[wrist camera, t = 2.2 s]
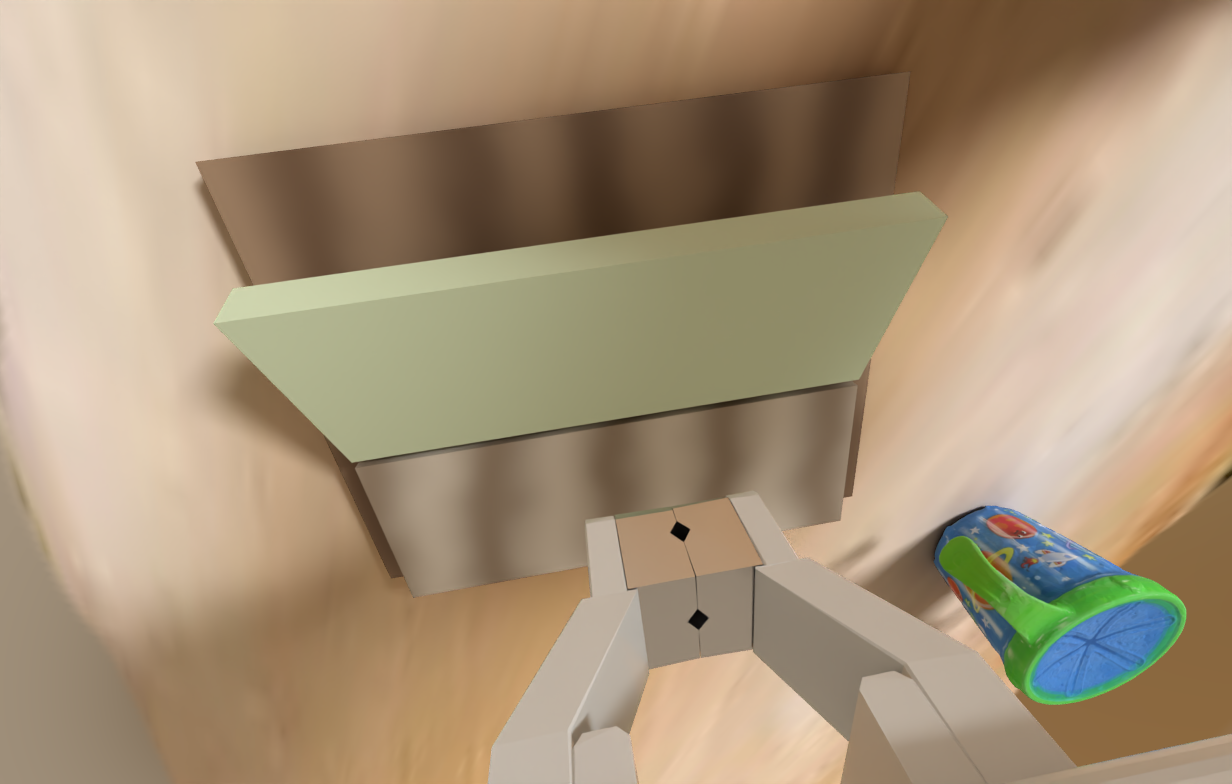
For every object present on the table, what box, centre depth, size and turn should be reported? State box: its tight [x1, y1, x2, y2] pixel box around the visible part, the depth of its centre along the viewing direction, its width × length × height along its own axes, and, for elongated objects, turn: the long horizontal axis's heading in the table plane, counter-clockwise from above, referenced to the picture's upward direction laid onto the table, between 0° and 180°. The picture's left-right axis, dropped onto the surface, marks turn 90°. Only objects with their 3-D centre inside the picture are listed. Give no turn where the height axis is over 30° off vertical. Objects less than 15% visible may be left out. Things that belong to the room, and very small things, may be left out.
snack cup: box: [934, 506, 1186, 705], centre depth 34 cm, size 16×10×10 cm
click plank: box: [213, 191, 948, 463], centre depth 22 cm, size 28×10×2 cm, turn 97°
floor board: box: [196, 71, 911, 598], centre depth 26 cm, size 32×25×3 cm
